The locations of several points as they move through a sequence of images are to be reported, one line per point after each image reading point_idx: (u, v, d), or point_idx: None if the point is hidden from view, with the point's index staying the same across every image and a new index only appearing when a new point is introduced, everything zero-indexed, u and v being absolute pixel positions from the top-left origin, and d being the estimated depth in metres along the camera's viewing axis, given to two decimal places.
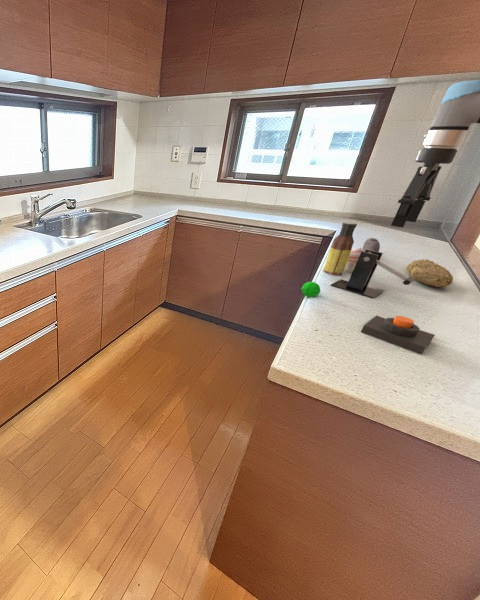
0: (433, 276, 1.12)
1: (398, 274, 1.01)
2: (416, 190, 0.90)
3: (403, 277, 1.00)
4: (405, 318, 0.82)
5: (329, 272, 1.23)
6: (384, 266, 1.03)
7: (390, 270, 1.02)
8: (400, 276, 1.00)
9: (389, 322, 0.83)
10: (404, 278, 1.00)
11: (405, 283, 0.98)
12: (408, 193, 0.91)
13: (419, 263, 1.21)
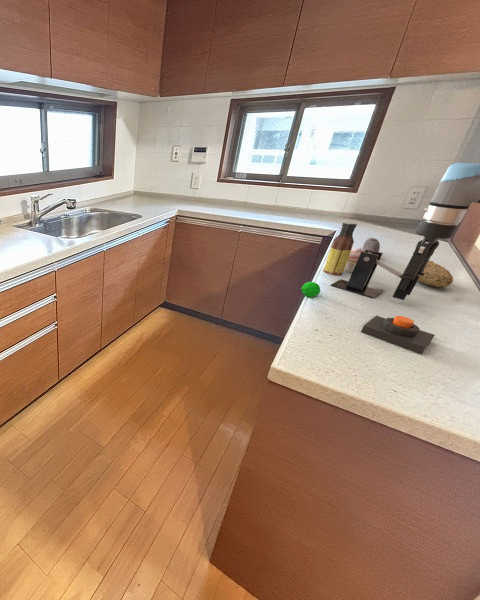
0: (433, 276, 1.12)
1: (398, 274, 1.01)
2: (415, 269, 0.93)
3: None
4: (405, 318, 0.82)
5: (329, 272, 1.23)
6: (384, 266, 1.03)
7: (390, 270, 1.02)
8: None
9: (389, 322, 0.83)
10: None
11: None
12: (408, 271, 0.94)
13: None
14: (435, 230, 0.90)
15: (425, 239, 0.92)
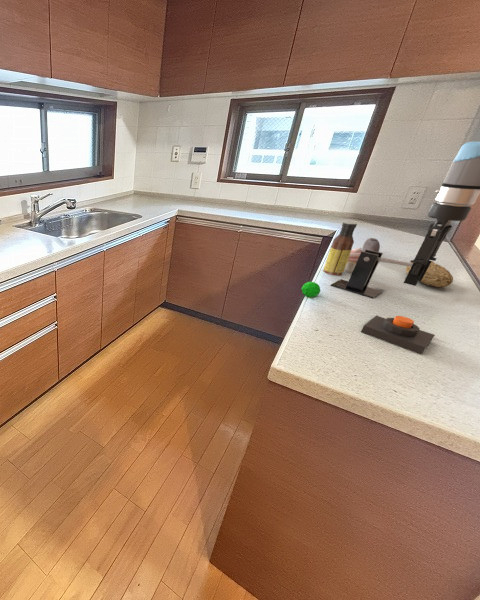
0: (433, 276, 1.12)
1: (406, 263, 0.99)
2: (428, 253, 0.90)
3: None
4: (405, 318, 0.82)
5: (329, 272, 1.23)
6: (388, 260, 1.02)
7: (396, 262, 1.00)
8: (409, 265, 0.98)
9: (389, 322, 0.83)
10: None
11: None
12: (420, 255, 0.92)
13: None
14: (448, 212, 0.87)
15: (437, 222, 0.89)
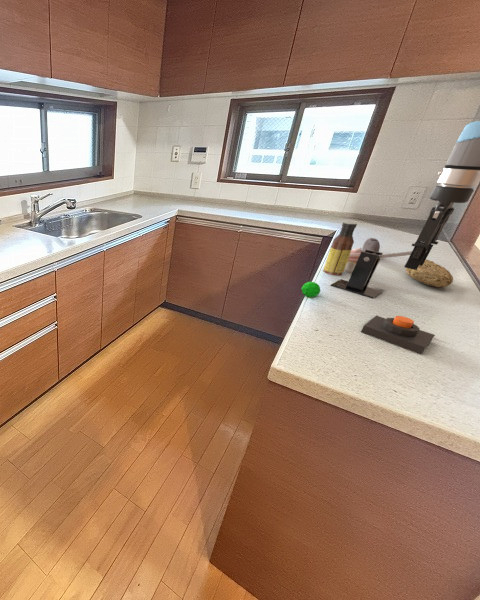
0: (433, 276, 1.12)
1: (407, 253, 0.98)
2: (430, 235, 0.89)
3: None
4: (405, 318, 0.82)
5: (329, 272, 1.23)
6: (388, 255, 1.01)
7: (397, 254, 1.00)
8: (410, 253, 0.97)
9: (389, 322, 0.83)
10: None
11: None
12: (421, 238, 0.90)
13: None
14: (450, 194, 0.86)
15: (440, 204, 0.88)
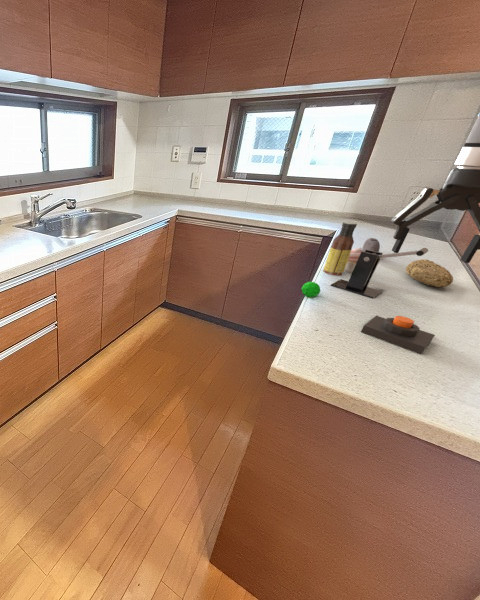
0: (433, 276, 1.12)
1: (407, 253, 0.98)
2: (404, 211, 0.82)
3: (414, 252, 0.97)
4: (405, 318, 0.82)
5: (329, 272, 1.23)
6: (388, 255, 1.01)
7: (397, 254, 1.00)
8: (410, 253, 0.97)
9: (389, 322, 0.83)
10: (415, 252, 0.96)
11: (420, 254, 0.94)
12: (398, 214, 0.84)
13: (419, 263, 1.21)
14: (450, 175, 0.76)
15: None
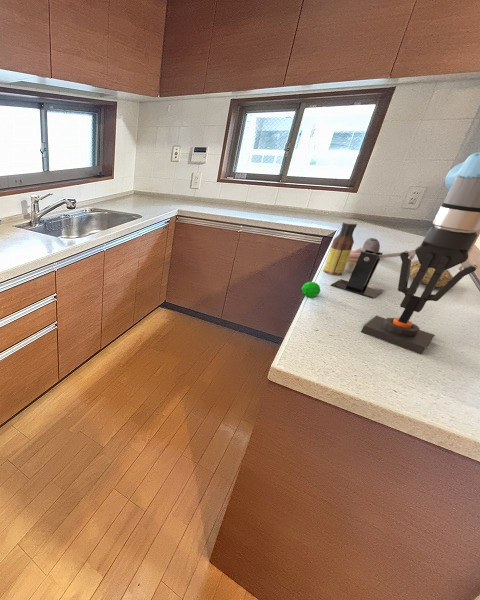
0: None
1: None
2: None
3: None
4: None
5: (329, 272, 1.23)
6: (388, 255, 1.01)
7: (397, 254, 1.00)
8: None
9: (389, 322, 0.83)
10: None
11: None
12: None
13: (419, 263, 1.21)
14: (427, 233, 0.75)
15: None
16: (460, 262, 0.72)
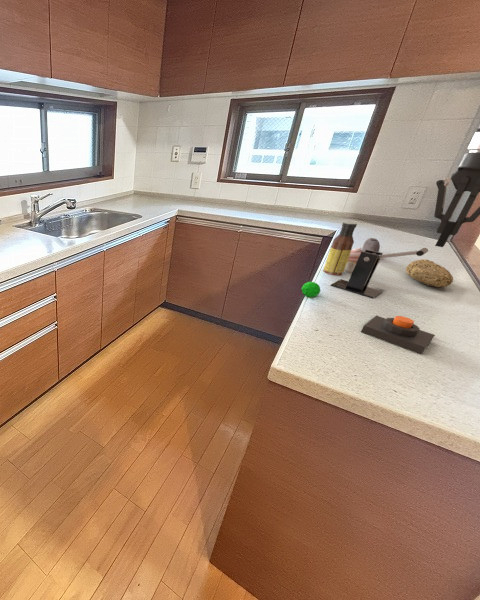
0: (433, 276, 1.12)
1: (407, 253, 0.98)
2: (436, 205, 0.87)
3: (414, 252, 0.97)
4: (405, 318, 0.82)
5: (329, 272, 1.23)
6: (388, 255, 1.01)
7: (397, 254, 1.00)
8: (410, 253, 0.97)
9: (389, 322, 0.83)
10: (415, 252, 0.96)
11: (420, 254, 0.94)
12: None
13: (419, 263, 1.21)
14: (462, 159, 0.82)
15: None
16: None
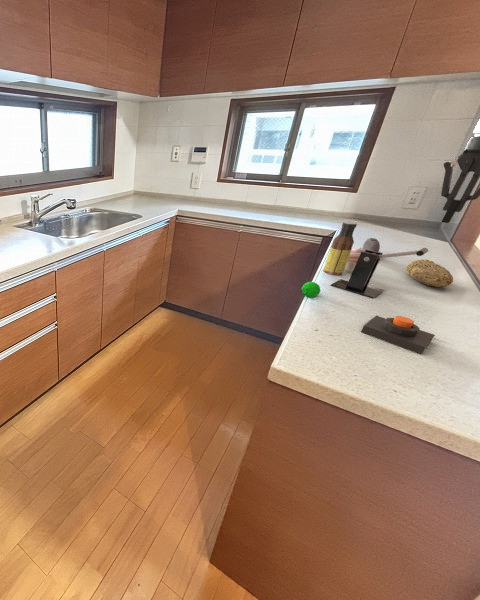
0: (433, 276, 1.12)
1: (407, 253, 0.98)
2: None
3: (414, 252, 0.97)
4: (405, 318, 0.82)
5: (329, 272, 1.23)
6: (388, 255, 1.01)
7: (397, 254, 1.00)
8: (410, 253, 0.97)
9: (389, 322, 0.83)
10: (415, 252, 0.96)
11: (420, 254, 0.94)
12: None
13: (419, 263, 1.21)
14: None
15: None
16: None
